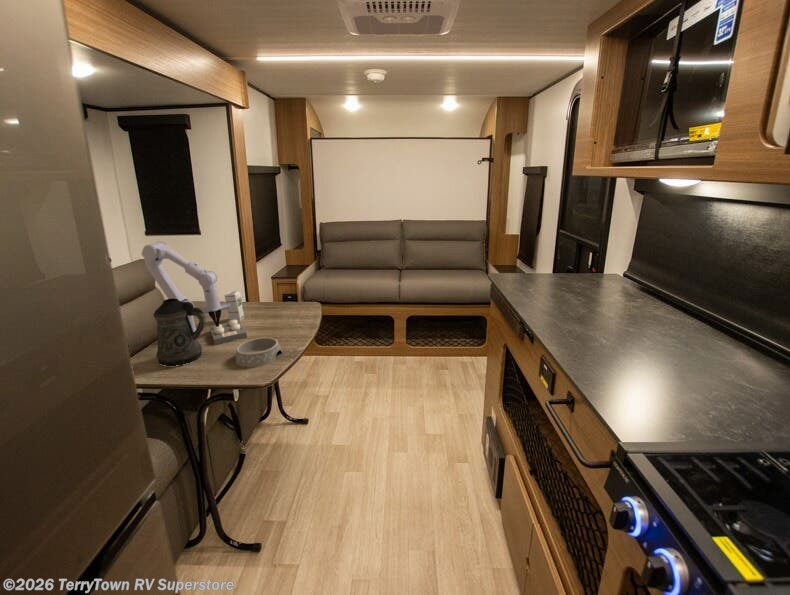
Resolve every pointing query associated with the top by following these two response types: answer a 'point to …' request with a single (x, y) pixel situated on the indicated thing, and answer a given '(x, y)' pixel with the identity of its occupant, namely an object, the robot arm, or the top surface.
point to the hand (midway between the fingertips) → (217, 326)
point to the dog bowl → (257, 352)
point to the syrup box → (235, 305)
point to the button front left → (219, 330)
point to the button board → (228, 334)
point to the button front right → (235, 327)
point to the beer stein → (178, 332)
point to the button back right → (232, 322)
